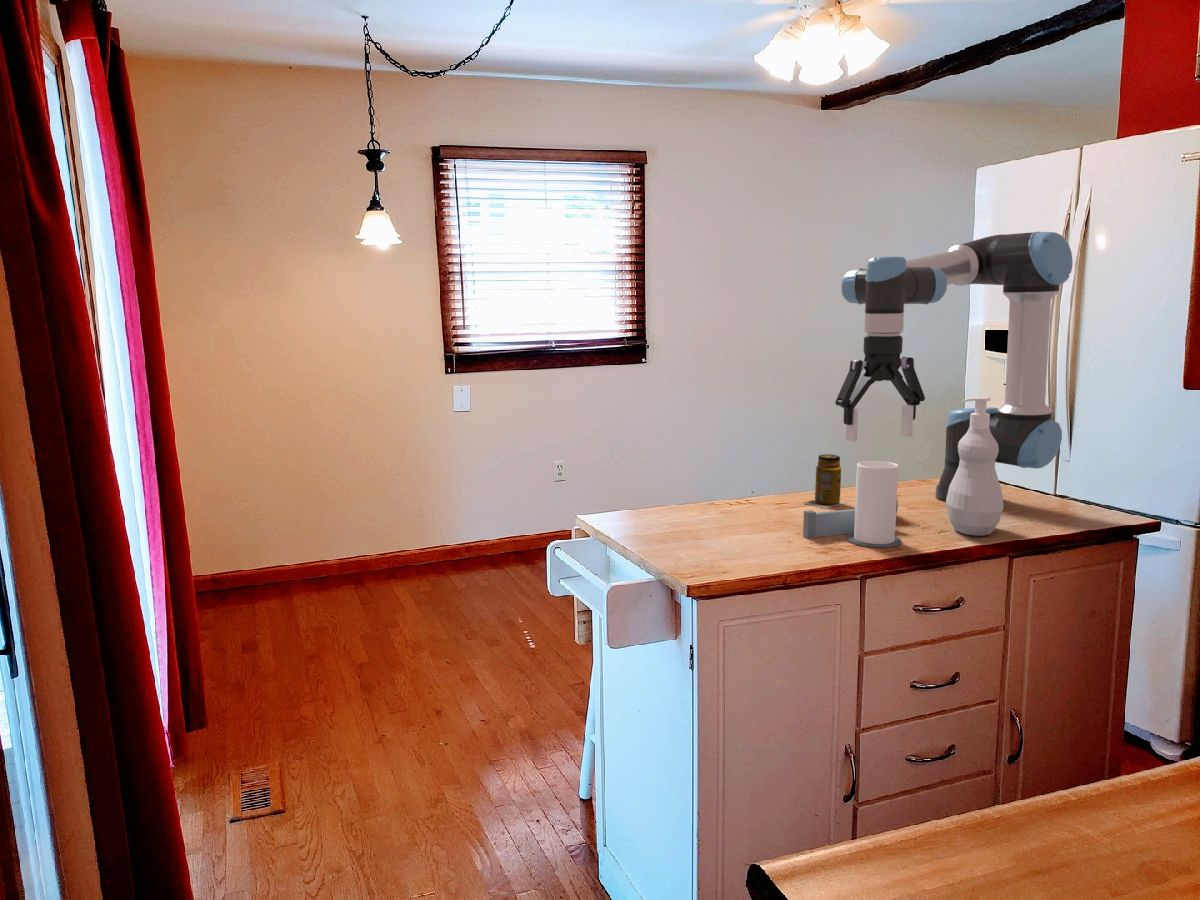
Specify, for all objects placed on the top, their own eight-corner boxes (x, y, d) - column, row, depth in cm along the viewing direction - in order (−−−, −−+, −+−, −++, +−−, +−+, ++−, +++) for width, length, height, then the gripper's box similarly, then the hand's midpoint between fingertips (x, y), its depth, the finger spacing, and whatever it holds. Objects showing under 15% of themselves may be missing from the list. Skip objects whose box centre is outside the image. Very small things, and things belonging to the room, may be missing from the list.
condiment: (846, 503, 222) (848, 455, 220) (828, 508, 217) (830, 460, 215) (821, 498, 228) (823, 452, 226) (802, 504, 222) (804, 456, 220)
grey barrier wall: (887, 526, 199) (888, 502, 198) (892, 528, 198) (893, 504, 197) (803, 536, 192) (803, 511, 191) (807, 538, 190) (808, 512, 189)
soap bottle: (941, 520, 205) (948, 392, 200) (995, 523, 202) (1004, 393, 197) (947, 539, 189) (956, 401, 184) (1007, 543, 186) (1017, 402, 181)
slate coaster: (879, 531, 195) (879, 530, 195) (912, 544, 185) (912, 542, 185) (836, 536, 191) (836, 534, 191) (868, 550, 181) (868, 548, 181)
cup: (880, 546, 182) (884, 469, 180) (846, 538, 188) (849, 464, 186) (902, 539, 188) (906, 464, 185) (867, 531, 194) (871, 459, 191)
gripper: (921, 332, 188) (916, 431, 192) (819, 335, 180) (817, 439, 184) (946, 333, 181) (940, 436, 185) (841, 337, 173) (838, 445, 177)
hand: (879, 438), depth 185 cm, fingers open, 13 cm apart
